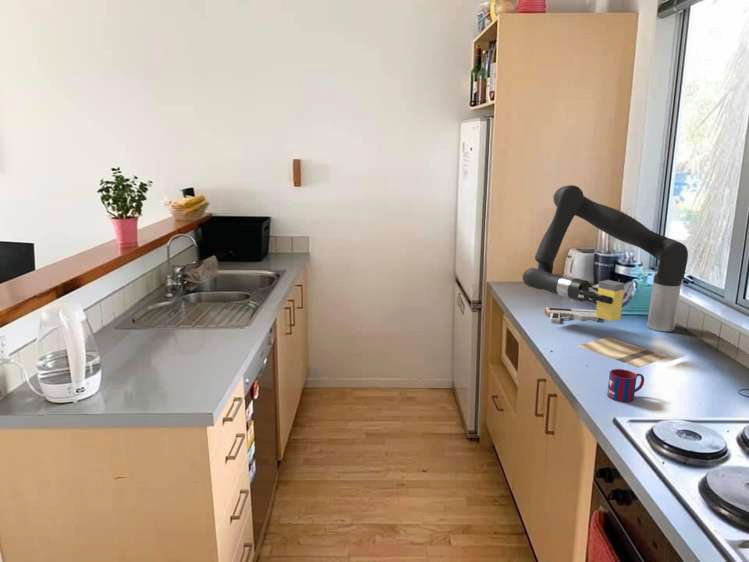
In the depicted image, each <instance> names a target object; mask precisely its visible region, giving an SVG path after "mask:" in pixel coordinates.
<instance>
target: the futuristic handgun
mask: <svg viewBox="0 0 749 562" xmlns="http://www.w3.org/2000/svg"><path fill="white" fill-rule="evenodd" d="M544 314H546V315H545V316H547V318H549V323H550V322H551V323H550V324H555V323H558V324H557V325H560V324H561V320H571V319H572V320H575V319H576V321H579V320H580V321H579V322H587V321H592V322H595V321H598V322H599V318H598V317H595V314H596V309H587V308H586V309H581V308H566V307H550V306H549V307H548V306H547V307H546V306H545V308H544ZM569 318H571V319H569Z"/></svg>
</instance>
